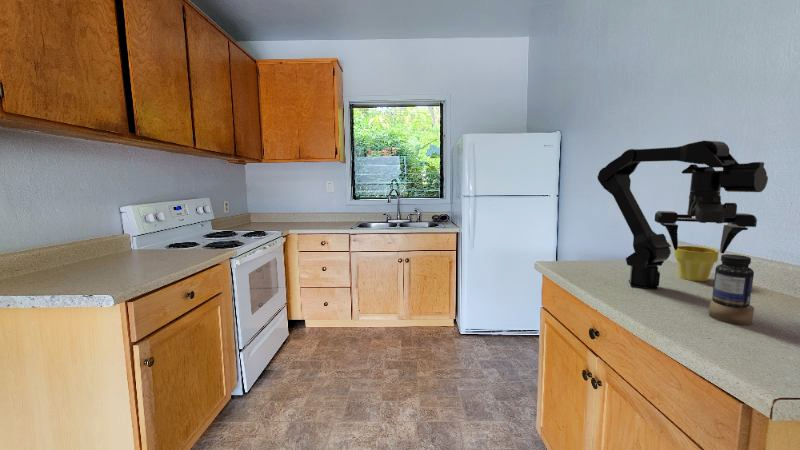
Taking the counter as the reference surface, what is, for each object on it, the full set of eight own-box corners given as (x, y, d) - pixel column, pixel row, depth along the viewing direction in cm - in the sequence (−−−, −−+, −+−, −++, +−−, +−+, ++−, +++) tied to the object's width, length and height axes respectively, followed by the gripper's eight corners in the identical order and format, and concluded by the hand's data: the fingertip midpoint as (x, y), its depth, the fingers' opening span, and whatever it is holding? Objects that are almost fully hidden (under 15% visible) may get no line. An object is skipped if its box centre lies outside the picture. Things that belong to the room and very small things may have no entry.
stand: (714, 321, 74) (716, 306, 74) (705, 310, 80) (706, 296, 80) (758, 327, 71) (760, 312, 70) (744, 316, 77) (746, 301, 77)
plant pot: (683, 282, 102) (687, 251, 101) (665, 273, 112) (668, 245, 111) (723, 284, 100) (727, 252, 99) (701, 274, 110) (704, 246, 109)
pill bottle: (727, 298, 79) (733, 253, 77) (757, 308, 73) (764, 259, 71) (704, 299, 78) (709, 253, 77) (732, 309, 72) (738, 260, 71)
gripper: (664, 192, 82) (659, 253, 84) (771, 192, 73) (762, 262, 75) (656, 190, 91) (651, 246, 93) (750, 191, 82) (742, 252, 84)
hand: (698, 251), depth 86 cm, fingers open, 9 cm apart
